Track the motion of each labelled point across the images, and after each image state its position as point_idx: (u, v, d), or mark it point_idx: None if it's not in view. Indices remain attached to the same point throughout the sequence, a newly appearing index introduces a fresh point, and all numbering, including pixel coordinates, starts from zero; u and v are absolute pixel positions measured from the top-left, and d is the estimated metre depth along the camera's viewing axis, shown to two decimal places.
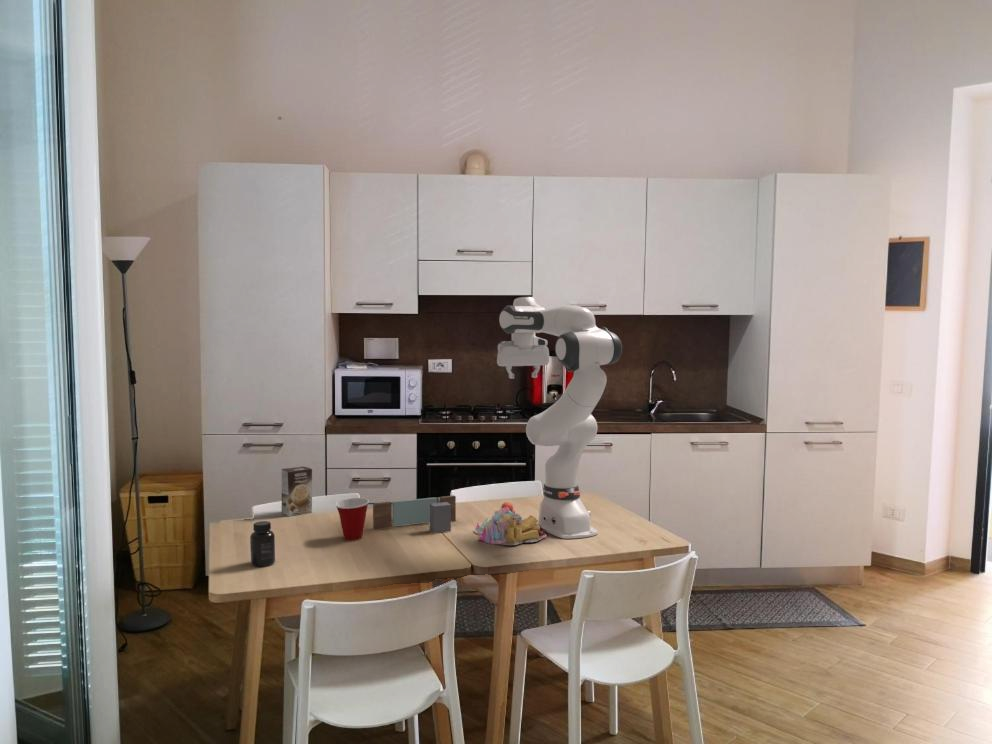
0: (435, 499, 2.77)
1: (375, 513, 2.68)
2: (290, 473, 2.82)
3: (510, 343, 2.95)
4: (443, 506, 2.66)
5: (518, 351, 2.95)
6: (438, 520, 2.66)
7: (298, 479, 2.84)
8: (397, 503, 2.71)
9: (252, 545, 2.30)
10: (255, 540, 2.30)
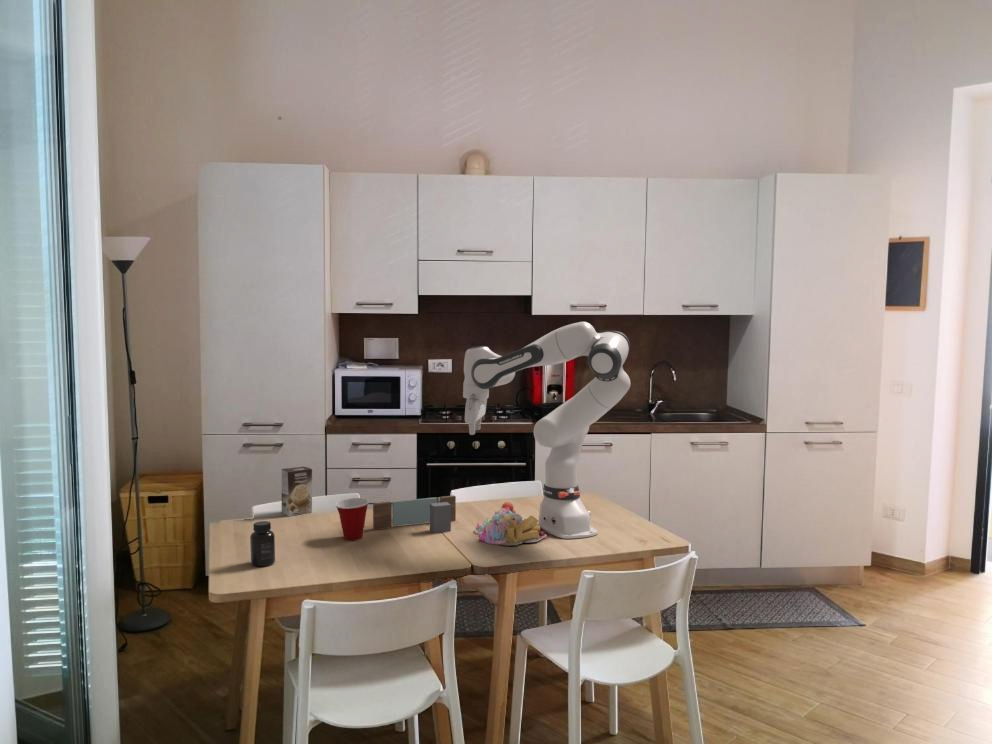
0: (435, 499, 2.77)
1: (375, 513, 2.68)
2: (290, 473, 2.82)
3: (474, 397, 2.73)
4: (443, 506, 2.66)
5: (478, 404, 2.76)
6: (438, 520, 2.66)
7: (298, 479, 2.84)
8: (397, 503, 2.71)
9: (252, 545, 2.30)
10: (255, 540, 2.30)
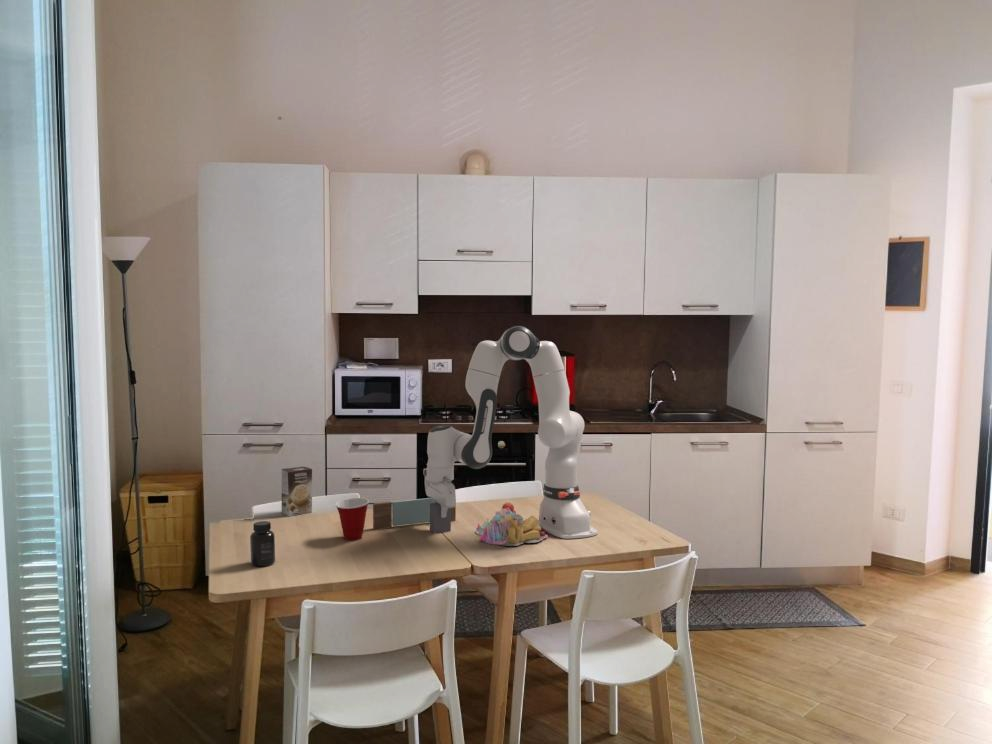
0: None
1: (375, 513, 2.68)
2: (290, 473, 2.82)
3: None
4: None
5: None
6: (438, 520, 2.66)
7: (298, 479, 2.84)
8: (397, 503, 2.71)
9: (252, 545, 2.30)
10: (255, 540, 2.30)
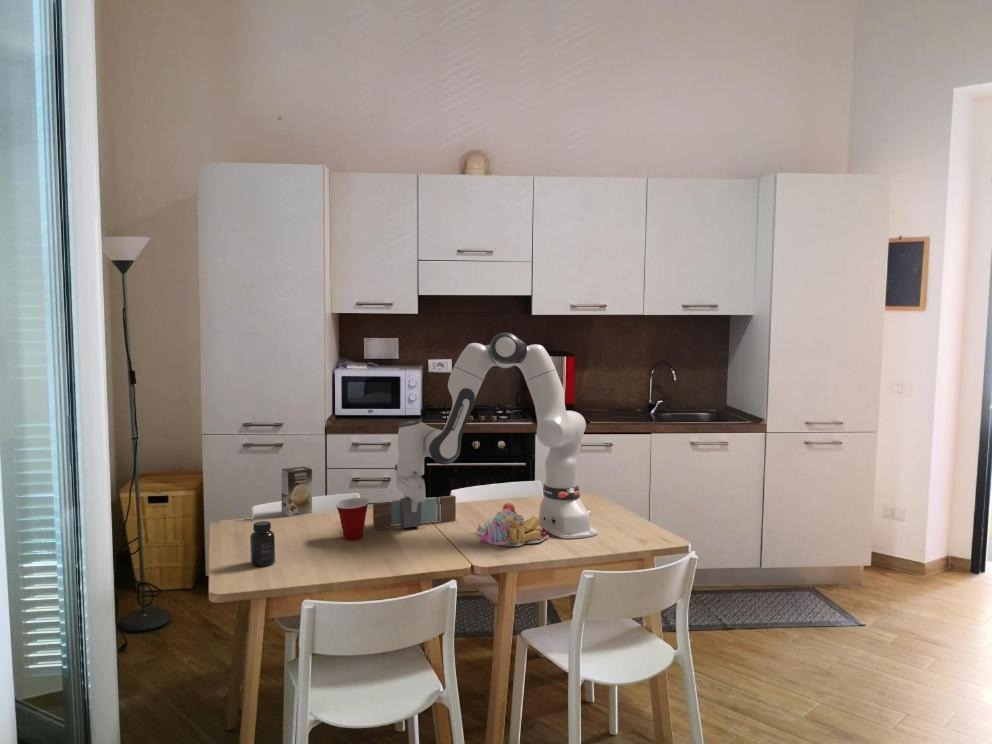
0: (435, 499, 2.77)
1: (375, 513, 2.68)
2: (290, 473, 2.82)
3: None
4: None
5: None
6: (408, 515, 2.68)
7: (298, 479, 2.84)
8: (396, 502, 2.72)
9: (252, 545, 2.30)
10: (255, 540, 2.30)
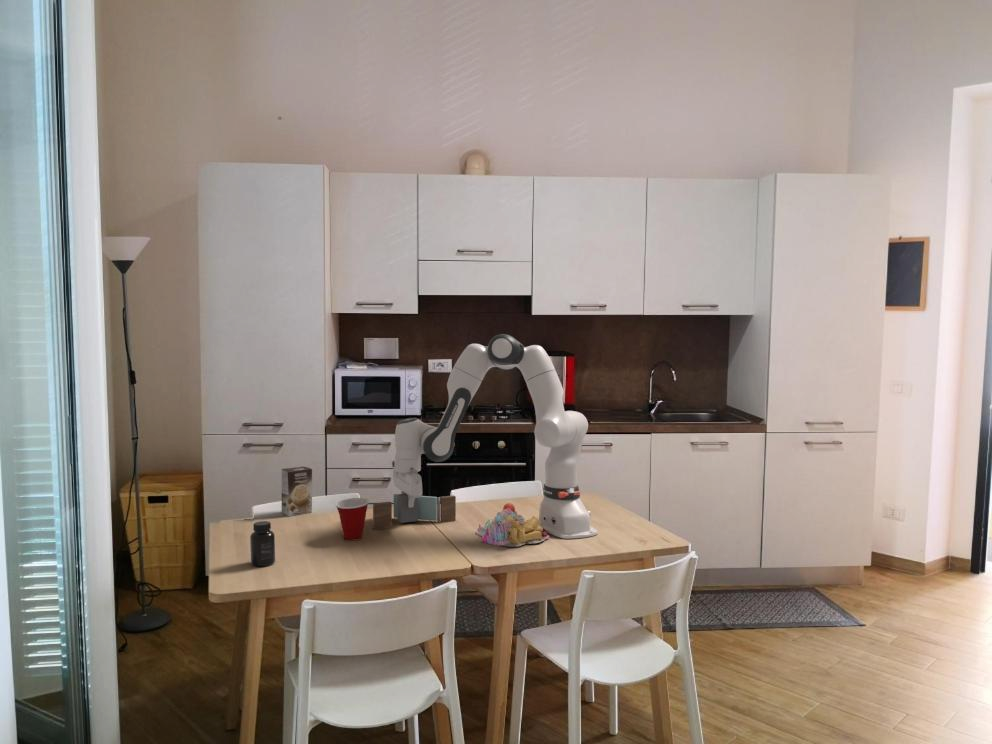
0: (434, 498, 2.78)
1: (375, 513, 2.68)
2: (290, 473, 2.82)
3: None
4: None
5: None
6: (405, 510, 2.74)
7: (298, 479, 2.84)
8: (397, 496, 2.81)
9: (252, 545, 2.30)
10: (255, 540, 2.30)
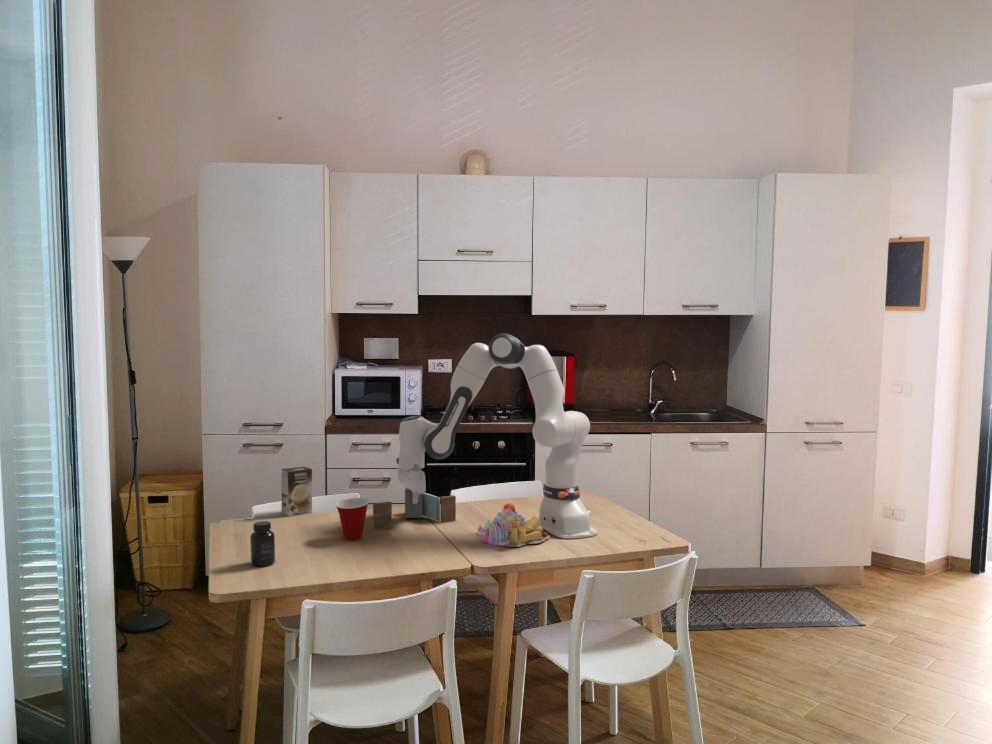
0: (435, 498, 2.79)
1: (375, 513, 2.68)
2: (290, 473, 2.82)
3: None
4: None
5: None
6: (409, 506, 2.80)
7: (298, 479, 2.84)
8: None
9: (252, 545, 2.30)
10: (255, 540, 2.30)
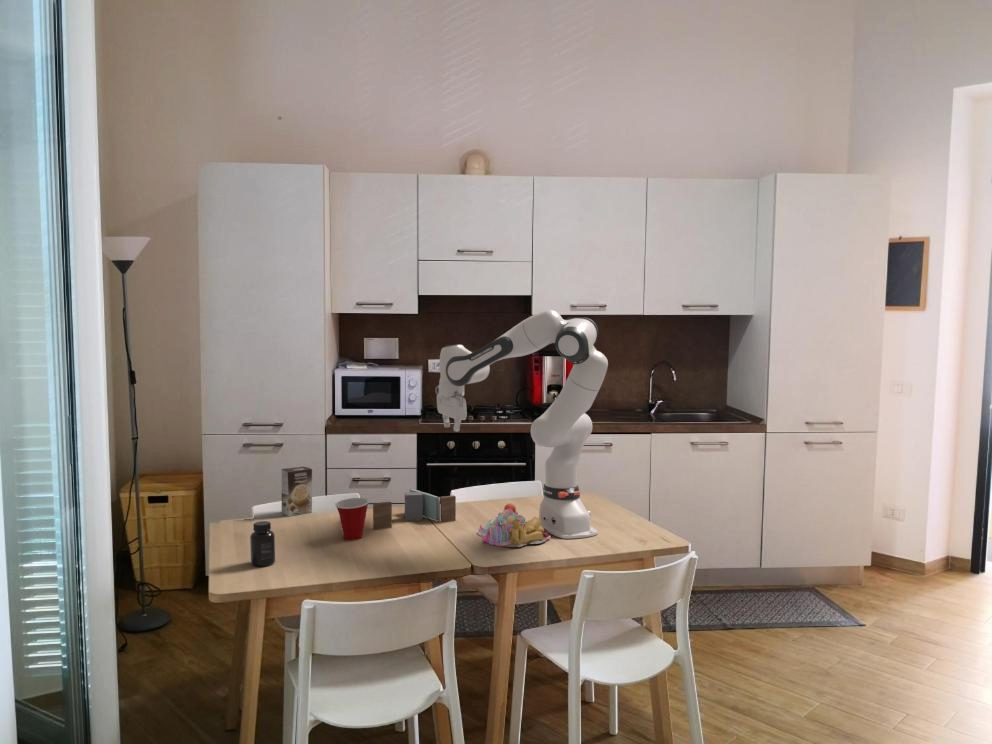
0: (435, 498, 2.79)
1: (375, 513, 2.68)
2: (290, 473, 2.82)
3: None
4: (415, 495, 2.80)
5: None
6: (409, 509, 2.80)
7: (298, 479, 2.84)
8: (412, 491, 2.89)
9: (252, 545, 2.30)
10: (255, 540, 2.30)
